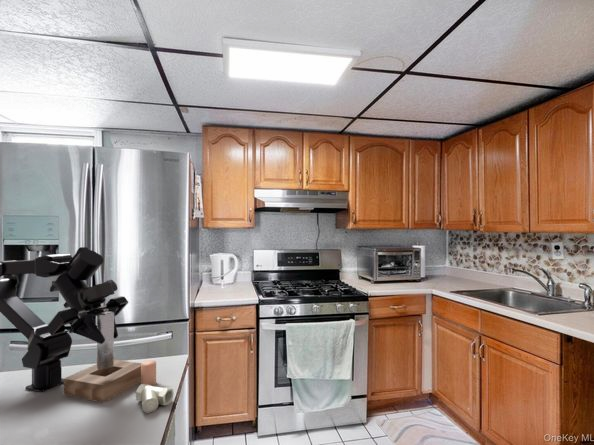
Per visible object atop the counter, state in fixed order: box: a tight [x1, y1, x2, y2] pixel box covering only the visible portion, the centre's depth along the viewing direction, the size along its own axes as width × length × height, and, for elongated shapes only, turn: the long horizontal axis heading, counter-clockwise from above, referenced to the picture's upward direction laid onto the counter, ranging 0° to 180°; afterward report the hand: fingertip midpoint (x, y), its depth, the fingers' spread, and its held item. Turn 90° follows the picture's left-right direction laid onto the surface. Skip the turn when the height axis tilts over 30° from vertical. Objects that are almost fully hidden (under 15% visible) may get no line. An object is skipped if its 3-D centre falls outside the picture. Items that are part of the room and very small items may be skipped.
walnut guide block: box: [63, 359, 143, 403], centre depth 86 cm, size 13×13×4 cm
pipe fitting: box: [135, 383, 175, 414], centre depth 76 cm, size 8×4×7 cm
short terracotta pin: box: [140, 360, 157, 386], centre depth 86 cm, size 4×4×6 cm
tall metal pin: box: [96, 312, 115, 369], centre depth 81 cm, size 4×4×13 cm
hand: (110, 339), depth 81 cm, fingers closed on tall metal pin, 4 cm apart
